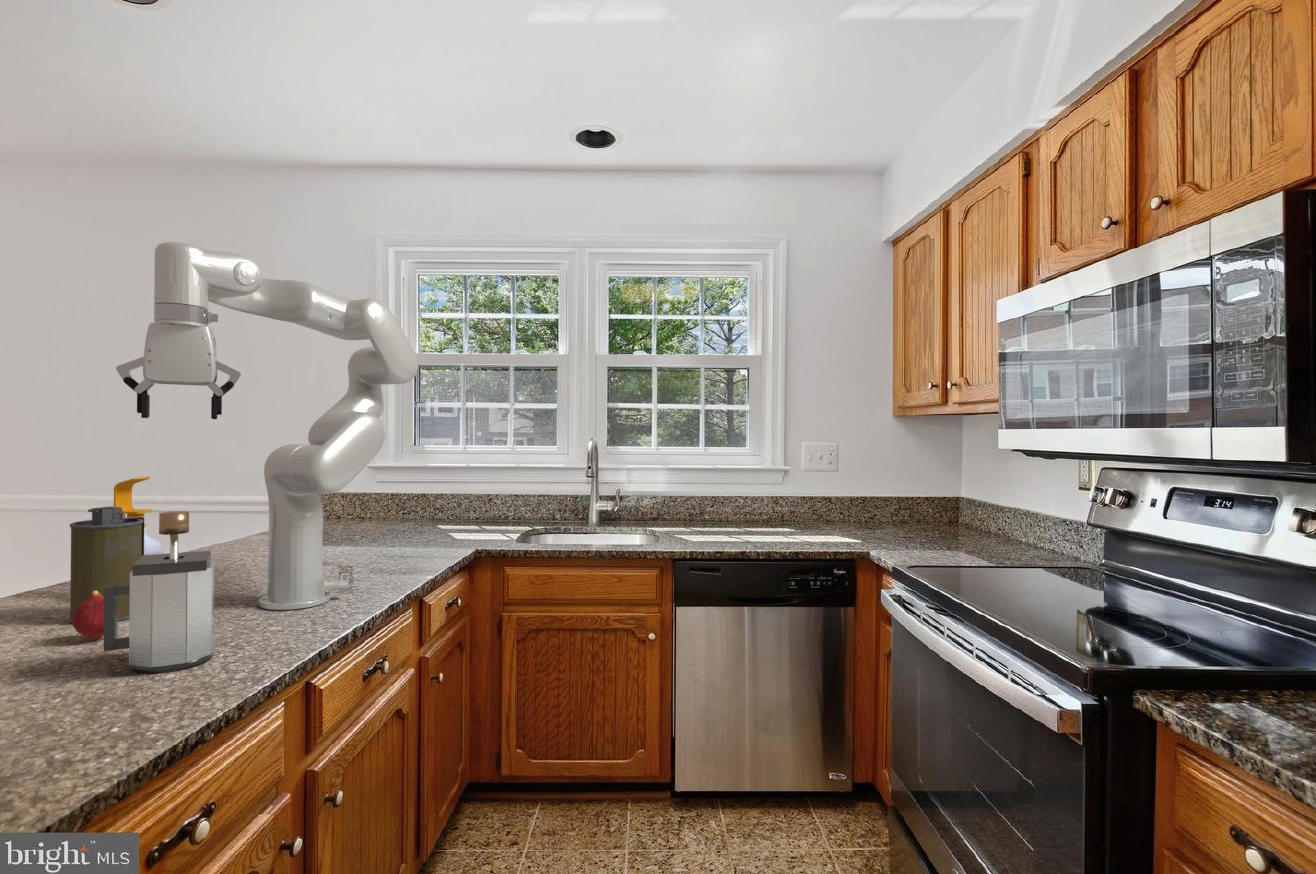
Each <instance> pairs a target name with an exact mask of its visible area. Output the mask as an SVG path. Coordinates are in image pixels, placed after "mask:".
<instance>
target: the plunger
mask: <svg viewBox="0 0 1316 874" xmlns="http://www.w3.org/2000/svg"><path fill="white" fill-rule="evenodd" d="M158 516H159V517H158V518H159V519H158V525H159V526H158V534H159V535H165V536H168V535H169V553H170V559H178V553H179V535H181V534H188V533H189V532H190V511H187V510H185V511H184V510H175V511H161V512H159V513H158Z"/></svg>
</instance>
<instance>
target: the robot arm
mask: <svg viewBox="0 0 1316 874" xmlns="http://www.w3.org/2000/svg"><path fill="white" fill-rule="evenodd" d="M153 277H154V280H153V284H154V285H153V289H154V292H153V293H154V294H153V296H154V297H153V300H154V304H153V322H149V324H148V327H147V331H146V336H145V343H144V348H143V356H141V357H139V358H136V359H133V360H130V361H128V362H124V363H122V364H119V365H116V367H115V370H116V372H117V373H118V375H119V376H120V378H121V380H122V381H123V383H124V384H125V385H126V386H128V387H129V389H131V390H133V392H135V393H136V412H137V413H136V414H141V415H140V417H141V418H142V419H148V418H150V412H151V411H150V408H151V407H150V406H151V405H150V404H151V403H150V399H151V397H150V394H149V393H148V391H149V390H150V389H151V388H152V387H153V386H154V385H156V384H160V385H177V386H178V385H179V386H204V387H205V386H206V387H208V388H209V390H211V391H212V392H213V393H212V396H211V398H210V399H211V401H210V402H211V404H210V405H211V406H210V409H211V410H210V412H211V414H210V419H212V420H218V416H222V413H223V412H222V411H223V397H224V395H226V394H227V393H228V392H229V391H231V390H232V389H233V388H234V387H235V385H236V384H237V382H238V380H239V379H240V377H241V372H240V371H239V370H236V369H234V368H233V367H230V366H228V365H227V364H224V363H222V362H220V361H218V357H217V356H218V355H217V344H216V335H215V332H214V329H213V328H212V327H209V325H210V324H211V323H213V322H214V323H218V322H219V315H218V314H216V313H215V314H214V313H212V312H211V311H209V302H210V303H212V304H215V305H218V306H221V307H225V308H227V309H230V310H233V311H238V312H241V313H245V314H249V315H250V314H251V315H255V316H259V317H263V318H268V319H272V320H276V321H281V322H286V323H292V324H295V325H298V326H301V327H304V328H308V329H309V330H312V331H313V330H314V331H316V332H319V333H322V334H325V335H327V336H331V337H334V338H336V339H341V340H344V341H364V340H370V343H371V345H372V346H367V347H362V348H360V349H358V350H356V351H354V353H353V354H352V353H351V356H350V358H349V359H348V362H347V373H348V374H347V375H348V388H347V391H346V393H345V394H344V395H343V396H342V397H341V398H340V399H339V400H338V401H337V402H336V403H335V404H334V405H333V406H331V407H330V408H329V409H328V410H326V412H324V413H323V414H322V415H321V416H319V418H318V419H317V420H315V422H314V423H313V424H312V425H311V426H310V428H309V431H308V435H307V440H308V443H309V444H304V443H303V444H300V443H299V444H298V443H292V444H286V445H282V446H279V447H277V448H275V449H274V450H273V451H272V452H270V454H268V456H267V458H266V460H265V463H264V466H263V467H264V468H263V478H264V482H265V483H264V484H265V487H266V492H267V500H268V559H267V560H268V564H267V565H268V567H267V568H268V571H267V573H268V579H267V594H266V595H265V596H262V597H260V598H259V599H258V606H259V607H260V608H261V609H265V610H272V611H273V610H274V611H275V610H276V611H282V610H283V611H285V610H288V611H289V610H297V609H306V608H311V607H312V608H313V607H316V606H320V605H323V604H326V603H327V602H329V601H330V600H331V593H330V592H331V591H346V590H348V579H342V580H340V579H332V580H330V579H325V576H324V574H323V547H324V546H323V544H324V543H323V541H324V538H323V535H324V529H323V528H324V527H323V526H324V512H323V511H324V510H323V505H322V501H321V497H320V495H330V494H331V495H332V494H335V493H337V492H339V491H341V490H342V489H344V488H345V487H347V486H348V485H349V484H350V483H351V482H352V481H353V480H354V479H355V478H356V477H357V476H358V475H359V474H360V473H361V472H362V470H364V469H365V468H366V466H368V464H370V463H371V462H372V461H373V459H374V458H375V457H376V456H378V454H379V452H380V451H381V450H382V447H383V445H384V442H385V436H386V432H385V426H384V424H383V422H382V420H380V418H381V416H382V414H383V413H384V412H383V411H384V405H385V404H384V395H383V388H382V385H383V386H384V385H401V384H403V385H404V384H407V383H409V382H411V381H413V379H415V377H416V376H417V374H418V370H419V362H418V361H419V360H418V358H417V357H418V356H417V354H416V352H415V350H414V348H413V346H412V345H411V343H410V341H409V339H408V337H407V336H406V334H405V332H404V331H403V328H402V327H401V326H400V323H399V322H398V321H397V318H396V317H395V315H394V314H393V313H392V311H391V309H389V307H387V305H386V304H385V303H383V301H381V300H379V299H377V298H360V299H350V298H349V299H348V298H345V297H343V296H340V295H338V294H335V293H332V292H330V291H327V290H326V289H323V288H321V287H318V286H315V285H314V284H311V283H309V282H305V281H300V280H293V279H273V278H264V277H263V272H262V269H261V268H260V266H259V265H258V263H257V262H256V261H255V260H253V259H251V258H250V257H248V256H246V255H244V254H241V253H236V252H230V251H229V252H227V251H220V250H219V251H218V250H217V251H216V250H210V249H209V250H208V249H204V248H201V247H198V246H197V245H193V244H190V243H184V242H175V241H174V242H173V241H167V242H162V243H158V245H157V246H156V247H155V250H154V275H153ZM141 367H142V375H143V378H144V379H143V380H142V381H141V382H138V381H136V380H135V379H134V378H133V377H132V375H131V373H130V372H131V371H133V370H136V369H138V368H141ZM218 371H220V372H223V373H224V374H226V375H228V376H229V378H228V380H227V381H225V383H223V384H222V385H221V386H219V385H218V384H217V380H218Z"/></svg>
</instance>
